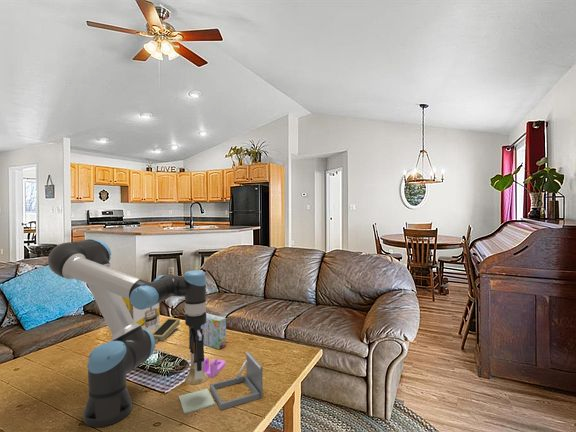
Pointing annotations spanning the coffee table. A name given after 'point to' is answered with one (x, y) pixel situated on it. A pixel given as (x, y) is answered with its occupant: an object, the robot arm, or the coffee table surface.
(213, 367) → the bracket
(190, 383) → the hand bell
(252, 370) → the hatch
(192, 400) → the pad
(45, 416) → the coffee table surface
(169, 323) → the box
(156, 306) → the packaging box
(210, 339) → the snack box
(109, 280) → the robot arm
